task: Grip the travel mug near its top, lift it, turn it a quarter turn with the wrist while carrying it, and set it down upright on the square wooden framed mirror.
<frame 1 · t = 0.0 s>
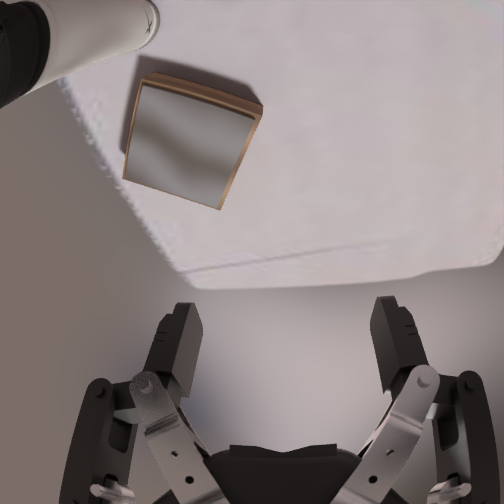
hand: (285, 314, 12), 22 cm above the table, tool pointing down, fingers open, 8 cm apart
square wooden framed mirror: (191, 135, 29), on the table
travel mug: (134, 23, 20), on the table
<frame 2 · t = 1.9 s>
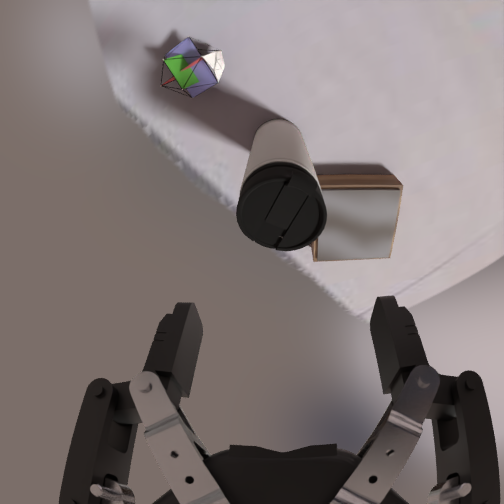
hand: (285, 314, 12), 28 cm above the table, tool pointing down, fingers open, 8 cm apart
square wooden framed mirror: (351, 212, 40), on the table
travel mug: (279, 140, 35), on the table
geometric puzzle: (197, 67, 29), on the table
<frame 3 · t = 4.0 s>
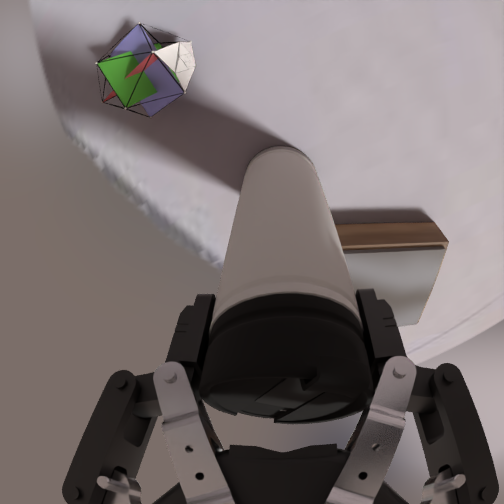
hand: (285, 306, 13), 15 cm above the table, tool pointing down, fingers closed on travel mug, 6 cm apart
square wooden framed mirror: (376, 269, 30), on the table
travel mug: (281, 176, 24), on the table, touching gripper
geometric puzzle: (160, 69, 19), on the table
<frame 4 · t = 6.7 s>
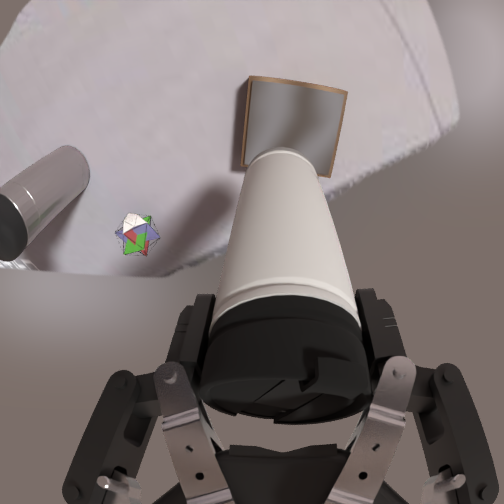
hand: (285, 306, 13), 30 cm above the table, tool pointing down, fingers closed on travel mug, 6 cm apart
square wooden framed mirror: (290, 122, 36), on the table
travel mug: (281, 177, 24), point 16 cm above the table, touching gripper
geometric puzzle: (144, 224, 47), on the table
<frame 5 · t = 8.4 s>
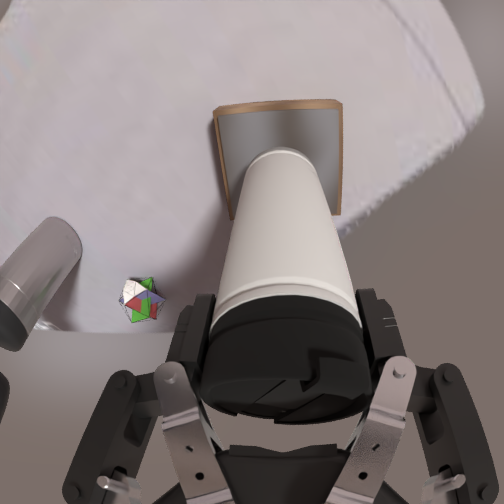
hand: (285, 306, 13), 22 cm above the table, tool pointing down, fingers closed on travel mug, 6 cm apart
square wooden framed mirror: (281, 153, 30), on the table
travel mug: (282, 177, 24), point 7 cm above the table, touching gripper
geometric puzzle: (148, 284, 44), on the table
when the fingers open (20 cm above the table, at t = 9.7 s): travel mug drops 1 cm, resting on square wooden framed mirror.
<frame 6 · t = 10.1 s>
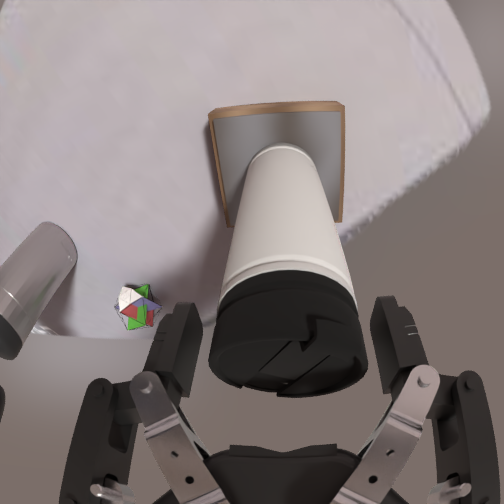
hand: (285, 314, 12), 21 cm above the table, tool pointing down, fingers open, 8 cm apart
square wooden framed mirror: (280, 158, 29), on the table
travel mug: (282, 171, 26), point 4 cm above the table, touching square wooden framed mirror
geometric puzzle: (145, 291, 43), on the table
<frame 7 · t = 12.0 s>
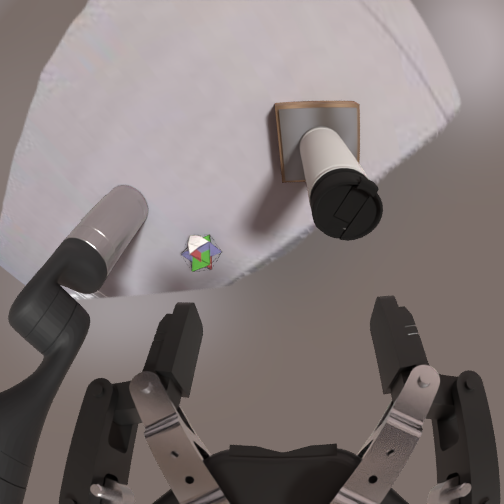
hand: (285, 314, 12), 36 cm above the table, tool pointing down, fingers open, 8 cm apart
square wooden framed mirror: (317, 137, 41), on the table
travel mug: (321, 144, 38), point 4 cm above the table, touching square wooden framed mirror
geometric puzzle: (205, 242, 56), on the table
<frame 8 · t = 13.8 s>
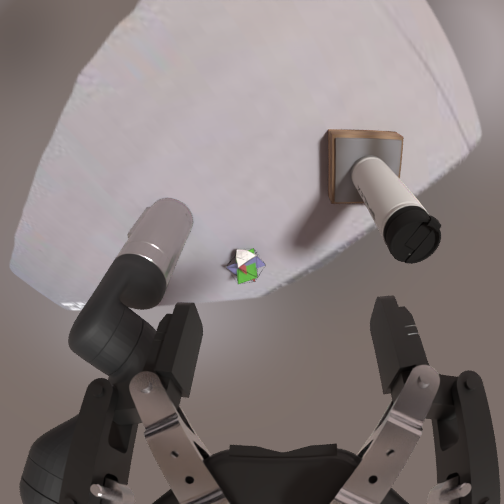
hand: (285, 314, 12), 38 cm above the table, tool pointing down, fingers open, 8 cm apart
square wooden framed mirror: (362, 163, 45), on the table
travel mug: (369, 171, 42), point 4 cm above the table, touching square wooden framed mirror
geometric puzzle: (247, 255, 59), on the table
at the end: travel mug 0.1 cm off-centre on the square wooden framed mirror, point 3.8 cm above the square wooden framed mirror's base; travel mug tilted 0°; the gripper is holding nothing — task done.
